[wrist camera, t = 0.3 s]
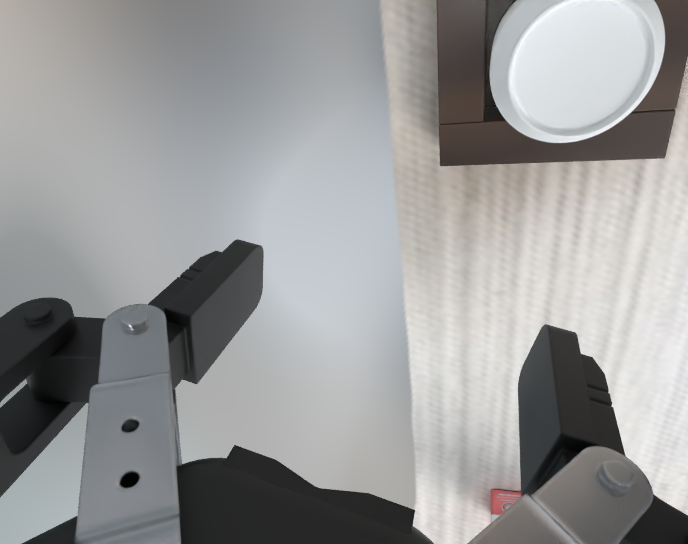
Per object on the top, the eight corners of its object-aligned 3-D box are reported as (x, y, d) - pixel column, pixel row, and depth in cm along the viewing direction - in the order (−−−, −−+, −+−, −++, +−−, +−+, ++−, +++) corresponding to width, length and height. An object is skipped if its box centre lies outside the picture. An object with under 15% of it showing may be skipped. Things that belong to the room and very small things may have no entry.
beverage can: (634, -1, 24) (727, 3, 14) (570, 113, 28) (610, 177, 18) (523, -38, 25) (540, -59, 15) (474, 78, 28) (462, 123, 18)
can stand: (443, -64, 25) (434, -72, 22) (694, -111, 22) (730, -130, 18) (445, 148, 31) (439, 166, 28) (645, 139, 27) (665, 158, 24)
